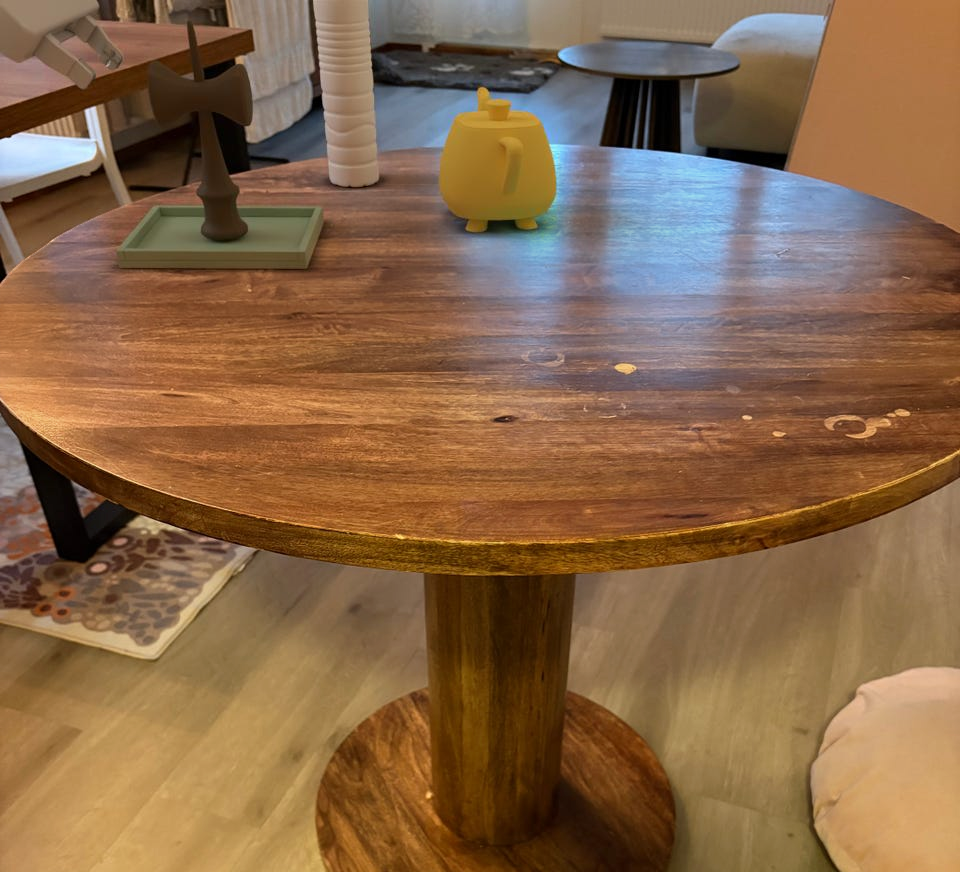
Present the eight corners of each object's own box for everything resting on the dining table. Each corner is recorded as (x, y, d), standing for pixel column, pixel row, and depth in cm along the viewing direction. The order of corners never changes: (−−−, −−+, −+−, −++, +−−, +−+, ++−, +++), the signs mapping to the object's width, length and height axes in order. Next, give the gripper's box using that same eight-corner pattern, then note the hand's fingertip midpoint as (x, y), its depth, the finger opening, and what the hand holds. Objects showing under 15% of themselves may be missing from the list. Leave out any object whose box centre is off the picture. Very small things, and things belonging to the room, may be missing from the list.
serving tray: (119, 268, 96) (115, 250, 94) (157, 221, 107) (153, 205, 106) (307, 269, 96) (305, 251, 95) (324, 222, 108) (322, 206, 106)
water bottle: (327, 175, 123) (305, -59, 106) (375, 173, 124) (361, -59, 107) (333, 194, 116) (311, -52, 100) (384, 191, 117) (370, -53, 101)
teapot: (530, 190, 118) (534, 79, 110) (571, 241, 103) (579, 117, 95) (427, 195, 116) (424, 82, 108) (454, 248, 101) (452, 122, 93)
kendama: (187, 228, 103) (145, 15, 90) (272, 227, 104) (244, 15, 90) (176, 245, 99) (130, 24, 85) (266, 245, 99) (234, 24, 86)
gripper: (-64, -74, 75) (89, 66, 81) (27, -89, 90) (149, 30, 97) (-96, -8, 78) (54, 122, 84) (-3, -33, 93) (118, 79, 100)
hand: (105, 73), depth 91 cm, fingers open, 8 cm apart
